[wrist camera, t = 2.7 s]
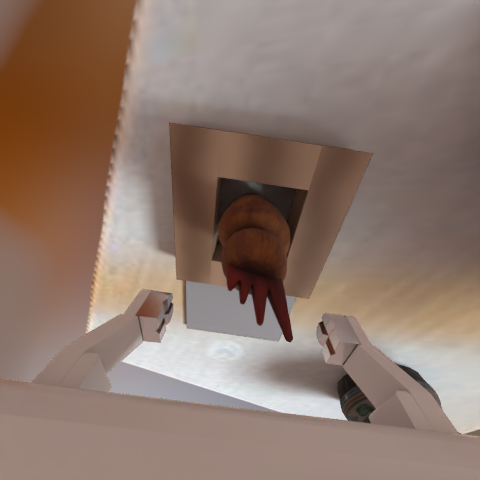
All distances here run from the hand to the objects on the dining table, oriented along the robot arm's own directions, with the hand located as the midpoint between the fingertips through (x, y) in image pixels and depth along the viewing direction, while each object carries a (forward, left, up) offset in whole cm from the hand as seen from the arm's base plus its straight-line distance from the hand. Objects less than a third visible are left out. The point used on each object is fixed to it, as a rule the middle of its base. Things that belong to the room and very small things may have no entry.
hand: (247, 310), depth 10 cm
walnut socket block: (0, 0, -14) cm, 14 cm away
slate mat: (0, +16, -14) cm, 21 cm away
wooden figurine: (0, 0, -14) cm, 14 cm away
